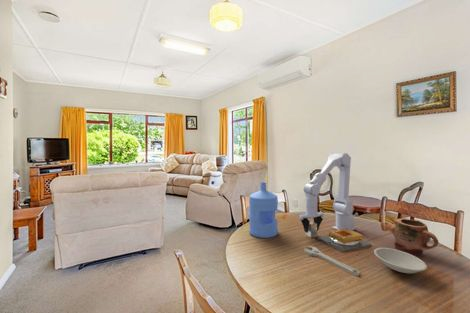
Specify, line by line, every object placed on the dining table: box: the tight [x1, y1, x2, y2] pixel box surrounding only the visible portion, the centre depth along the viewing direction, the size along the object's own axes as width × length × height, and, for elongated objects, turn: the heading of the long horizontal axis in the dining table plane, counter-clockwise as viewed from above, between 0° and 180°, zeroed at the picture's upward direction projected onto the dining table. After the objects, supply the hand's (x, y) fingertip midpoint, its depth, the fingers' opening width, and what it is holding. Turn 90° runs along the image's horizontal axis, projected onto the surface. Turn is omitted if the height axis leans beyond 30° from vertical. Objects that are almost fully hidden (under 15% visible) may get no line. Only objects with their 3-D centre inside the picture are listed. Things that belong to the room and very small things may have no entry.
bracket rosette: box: [317, 228, 372, 253], centre depth 113 cm, size 18×16×4 cm
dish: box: [373, 247, 428, 274], centre depth 87 cm, size 18×14×5 cm
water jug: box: [248, 181, 279, 239], centre depth 125 cm, size 16×16×28 cm
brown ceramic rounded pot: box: [389, 218, 439, 257], centre depth 101 cm, size 20×12×14 cm, turn 20°
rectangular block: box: [305, 220, 318, 238], centre depth 121 cm, size 4×4×7 cm
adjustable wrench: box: [304, 245, 360, 276], centre depth 94 cm, size 25×6×2 cm, turn 26°
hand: (311, 231), depth 121 cm, fingers open, 6 cm apart
